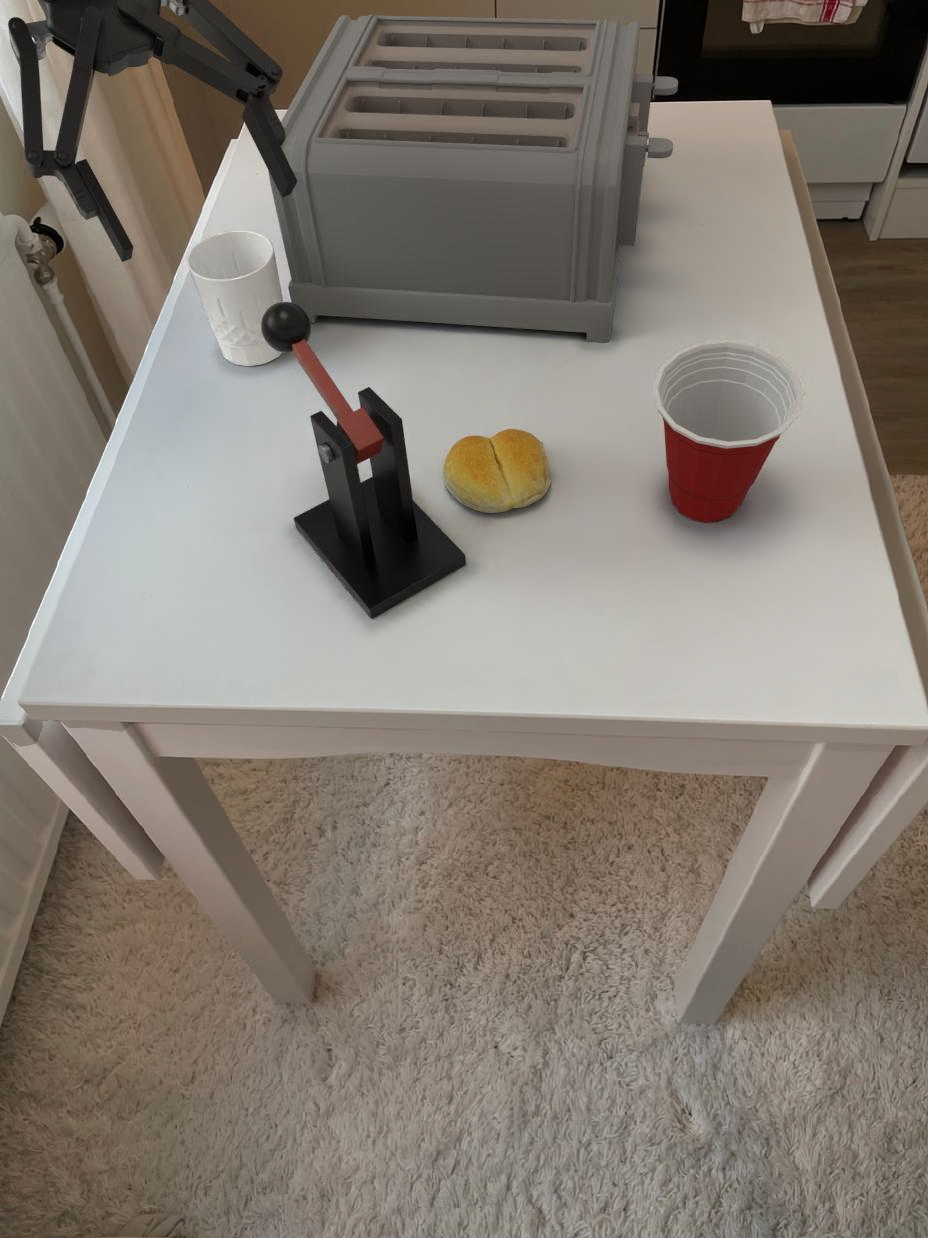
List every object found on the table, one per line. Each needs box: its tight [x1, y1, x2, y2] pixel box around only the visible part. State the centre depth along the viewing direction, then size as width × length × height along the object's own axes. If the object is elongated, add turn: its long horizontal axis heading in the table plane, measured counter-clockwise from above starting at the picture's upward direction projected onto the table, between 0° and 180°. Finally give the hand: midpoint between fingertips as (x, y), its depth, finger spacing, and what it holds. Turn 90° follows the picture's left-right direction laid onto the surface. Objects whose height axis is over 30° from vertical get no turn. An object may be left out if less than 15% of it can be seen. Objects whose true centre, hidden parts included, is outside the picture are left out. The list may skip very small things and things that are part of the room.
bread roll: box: [442, 428, 552, 514], centre depth 80 cm, size 8×9×4 cm
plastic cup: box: [652, 339, 806, 523], centre depth 74 cm, size 11×11×12 cm
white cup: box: [186, 229, 284, 367], centre depth 90 cm, size 8×8×10 cm
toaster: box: [267, 13, 679, 343], centre depth 96 cm, size 31×36×17 cm
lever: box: [261, 301, 384, 465], centre depth 69 cm, size 13×4×4 cm, turn 35°
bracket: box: [293, 386, 467, 620], centre depth 72 cm, size 12×9×14 cm
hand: (211, 221), depth 72 cm, fingers open, 13 cm apart
